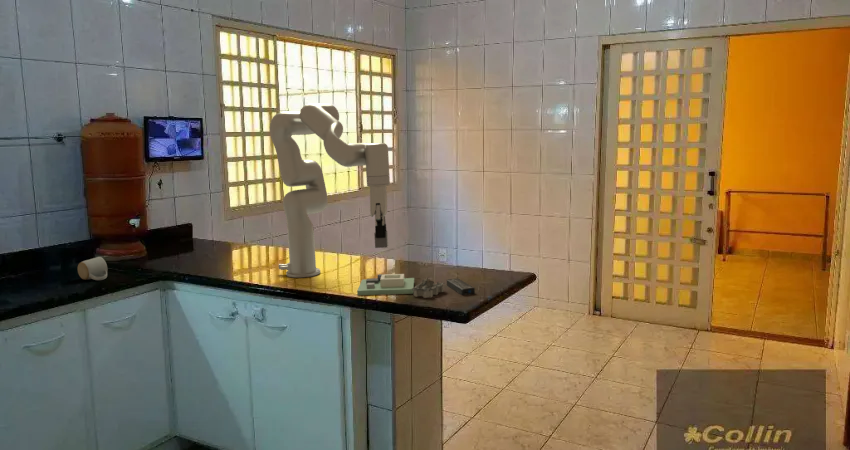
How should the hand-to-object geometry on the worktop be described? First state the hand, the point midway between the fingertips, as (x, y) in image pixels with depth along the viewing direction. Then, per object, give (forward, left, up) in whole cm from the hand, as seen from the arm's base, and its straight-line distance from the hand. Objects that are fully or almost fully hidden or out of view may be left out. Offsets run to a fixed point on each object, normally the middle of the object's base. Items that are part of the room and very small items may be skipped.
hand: (381, 236), depth 206 cm
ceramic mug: (-112, +29, -18) cm, 117 cm away
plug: (0, 0, -4) cm, 4 cm away
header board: (+1, 0, -18) cm, 18 cm away
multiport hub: (+26, -4, -18) cm, 32 cm away
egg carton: (+15, -8, -18) cm, 25 cm away
